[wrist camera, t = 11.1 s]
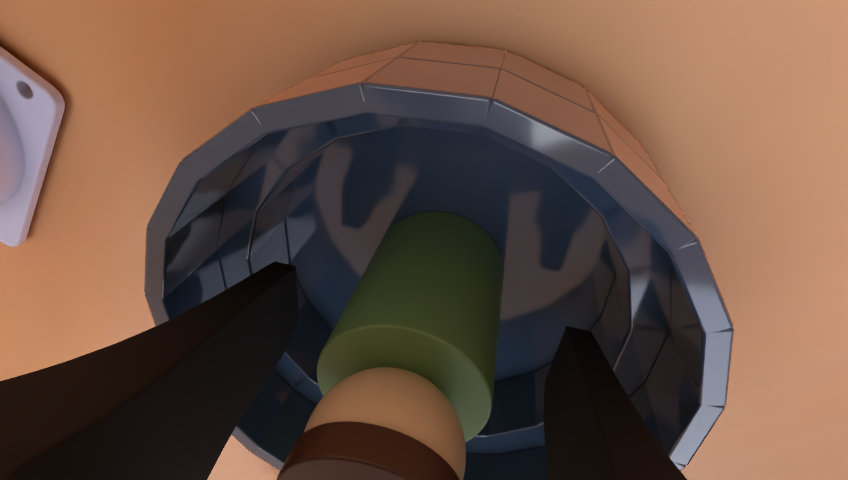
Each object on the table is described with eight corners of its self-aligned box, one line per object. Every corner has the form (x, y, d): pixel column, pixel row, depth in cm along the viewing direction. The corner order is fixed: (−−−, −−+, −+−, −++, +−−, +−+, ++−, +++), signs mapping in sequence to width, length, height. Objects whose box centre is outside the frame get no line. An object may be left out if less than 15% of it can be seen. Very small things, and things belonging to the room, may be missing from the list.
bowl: (195, 249, 17) (83, 347, 12) (413, -91, 10) (328, -130, 6) (457, 439, 19) (437, 571, 15) (766, 270, 13) (883, 422, 8)
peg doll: (354, 264, 15) (208, 512, 8) (432, 184, 13) (322, 429, 6) (445, 335, 16) (381, 613, 9) (532, 270, 14) (532, 570, 7)
